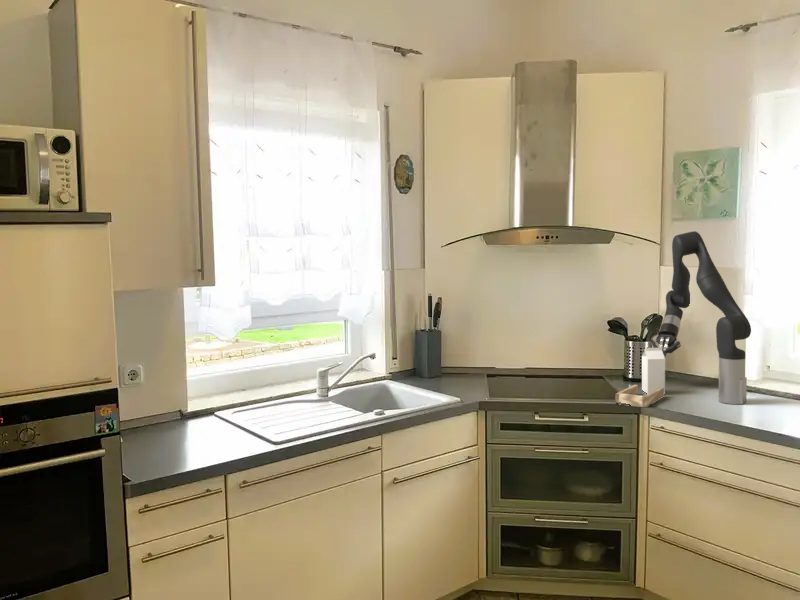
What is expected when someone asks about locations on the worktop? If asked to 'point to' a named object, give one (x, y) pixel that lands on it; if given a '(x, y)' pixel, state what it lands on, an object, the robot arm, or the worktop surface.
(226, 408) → the worktop surface
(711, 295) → the robot arm
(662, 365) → the milk carton
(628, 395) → the U-rest
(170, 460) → the worktop surface
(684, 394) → the worktop surface
